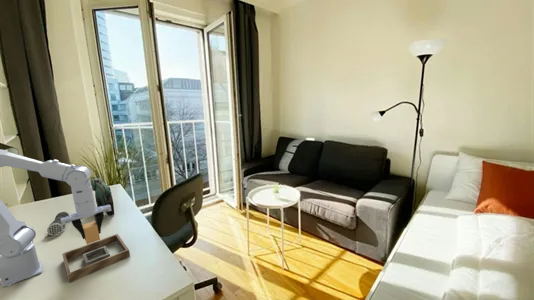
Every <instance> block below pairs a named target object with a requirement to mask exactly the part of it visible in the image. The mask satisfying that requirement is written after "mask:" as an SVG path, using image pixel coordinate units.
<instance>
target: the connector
mask: <svg viewBox="0 0 534 300" xmlns="http://www.w3.org/2000/svg"><path fill="white" fill-rule="evenodd" d="M82 226H83V231H84V234H85V239H84V241H85V243H86V245H87V244H90V243H93V242H96V241H99V240H101V237H100V234H99V232H98V227H97V224H96V221H95V220H93V221H91V222H87V223H85V224H82Z"/></svg>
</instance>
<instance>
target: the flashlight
mask: <svg viewBox="0 0 534 300" xmlns="http://www.w3.org/2000/svg"><path fill="white" fill-rule="evenodd" d="M69 215H70V213H69V212H67V211H61V212H59V213H57V214H56V216H55V217H54V220H52V222H51V223H50V224H49V225H48V227H47V230H46V231H47V234H49V235H51V236H57V235H61V234H62V232H63V230H65V226H66V225H62V223H61V218H64V217H67V216H69Z"/></svg>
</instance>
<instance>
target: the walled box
mask: <svg viewBox="0 0 534 300" xmlns="http://www.w3.org/2000/svg"><path fill="white" fill-rule="evenodd" d="M114 243H117V244H118V246H119V247H120V249H121V250H122V251H119V252H117V253H115V254H113V255H111V253H110V251H109V250H108V248H107V246H109V245H112V244H114ZM101 254H103V255H101ZM98 255H100V256H98ZM80 256H82V257H83V261H84V263H85V266H83V267H81V268H78V269H76V270H73V271H71V269H70V266H69V263H68V261H70V260H73V259H75V258H78V257H80ZM95 256H97V257H95ZM93 257H95V258H93ZM91 258H93V259H91ZM129 258H131V253H130V249H129V248H128V246H127V245H126V243H125V242H124V241H123V240H122V238H121V237H120V235H119V234H118V233H115V234H113V235H111V236H110V235H109V236H107V237H104V238H100V240H98V241H95V242H92V243H89V244H87V243H86V244H85V245H82V246H80V247H77V248H73V249H71V250H69V251H68V250H67V251H65V252H63V253H62V259H63V263H64V266H65V272H66V275H67V277H68V278H67V279H68V283H73V282H75V281H77V280H81V279H82V278H85V277H87V276H89V275H92V274H93V273H96V272H98V271H101V270H103V269H105V268H108V267H109V266H112V265H114V264H117V263H119V262H120V263H121V262H122V261H124V260H127V259H129ZM89 259H91V260H89Z"/></svg>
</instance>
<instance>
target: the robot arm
mask: <svg viewBox="0 0 534 300" xmlns="http://www.w3.org/2000/svg"><path fill="white" fill-rule="evenodd" d="M2 167H11V168H15V169H22V170H26V171H31V172H37V173H39V175H40V176H41V177H42V178H47V179H51V180H56V181H61V182H66V183H67V184H68V186H70V189H71V194H72V199H73V203H74V207H75V213H72V214H69V216H67V217H64V218H61V223H62V225H65V226H66V225H67V224H70V223H71V224H72V226H73V227H74V228H75V229H76V230H77V231H78V232H79V234H80V235H81V238H82V239H83V240H85V234H84V231H83V226H82V225H83V223H82V220H83V219H86V218H90V217H94V221H95V222H96V224H97V227H98V232H99V235H100V234H101V233H102V225H103V221H104V219H105V213H106V212H107V211H108V212H109V211H112V210H111V206H110V205H106V206H101V207H97V204H96V199H95V196H94V195H95V194H94V191H93V190H92V186H91V178H92V171H91V169H90V168H89V167H87V166H85V165H76V164H73V163H72V164H67V163H63V162H60V160H58V159H55V158H54V159H53V160H52V159H49V160H46V161H40V160H37V159H34V158H30V157H27V156H24V155H20V154H16V153H13V152H10V151H8V150H6V149H0V168H2ZM36 235H37V232H36V230H35V229H34V228H33V227H31V226H29V225H28V224H27V223H26V222H25V221H22V220H17V218H16V217H15V216H14V215H13V214H12V212H11V211H10V209H9V208H8V207H7V205H6V204H5V203H4V202H3V200H2V199H1V198H0V282H1V284H2V286H1V287H2V288H6V287H8V286H11V285H13V284H14V285H15V284H16V283H19V282H21V281H24V280H26V279H29V278H32V277H34V276H37V275H40V274H41V273H43V266H42V265H43V264H42V261H39V257H38V254H37V249H36V247H35V243H34V239H35V237H36Z"/></svg>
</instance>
